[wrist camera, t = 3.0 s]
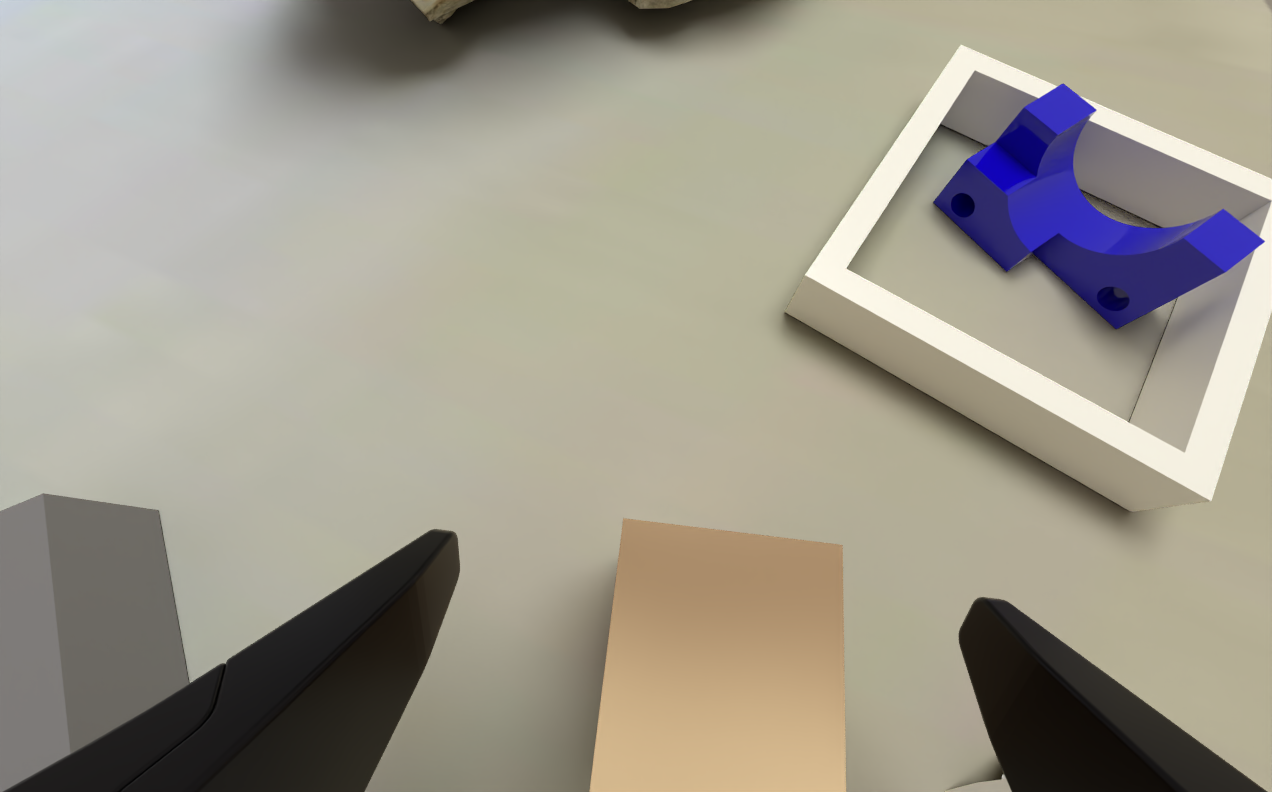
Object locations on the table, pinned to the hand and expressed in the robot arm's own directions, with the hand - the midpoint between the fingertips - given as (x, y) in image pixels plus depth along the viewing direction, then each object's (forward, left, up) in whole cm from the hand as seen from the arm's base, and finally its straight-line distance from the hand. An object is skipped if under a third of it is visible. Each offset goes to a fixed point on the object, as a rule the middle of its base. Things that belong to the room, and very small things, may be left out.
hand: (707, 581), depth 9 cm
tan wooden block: (-1, -1, -8) cm, 8 cm away
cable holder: (+18, -5, -8) cm, 21 cm away
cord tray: (+17, -5, -8) cm, 19 cm away
